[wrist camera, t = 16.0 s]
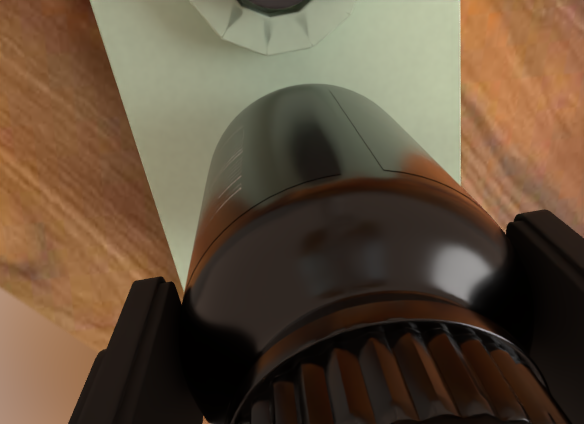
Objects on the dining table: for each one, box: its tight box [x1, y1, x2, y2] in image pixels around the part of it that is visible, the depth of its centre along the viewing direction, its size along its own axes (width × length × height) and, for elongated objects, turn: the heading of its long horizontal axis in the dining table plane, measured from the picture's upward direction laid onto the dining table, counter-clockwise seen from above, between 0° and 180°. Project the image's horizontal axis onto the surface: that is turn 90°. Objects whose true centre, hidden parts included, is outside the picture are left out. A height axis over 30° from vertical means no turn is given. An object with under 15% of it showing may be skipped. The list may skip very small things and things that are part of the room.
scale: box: [90, 0, 461, 291], centre depth 19 cm, size 17×13×3 cm
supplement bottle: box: [178, 83, 572, 424], centre depth 11 cm, size 7×7×12 cm
